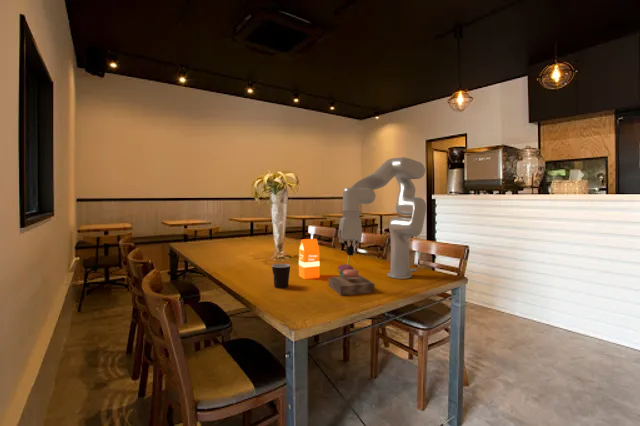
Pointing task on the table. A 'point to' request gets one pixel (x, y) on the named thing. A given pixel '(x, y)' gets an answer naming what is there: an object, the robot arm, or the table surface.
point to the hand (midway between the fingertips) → (350, 255)
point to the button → (350, 273)
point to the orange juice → (309, 259)
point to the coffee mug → (281, 275)
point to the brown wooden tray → (351, 285)
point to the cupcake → (344, 268)
